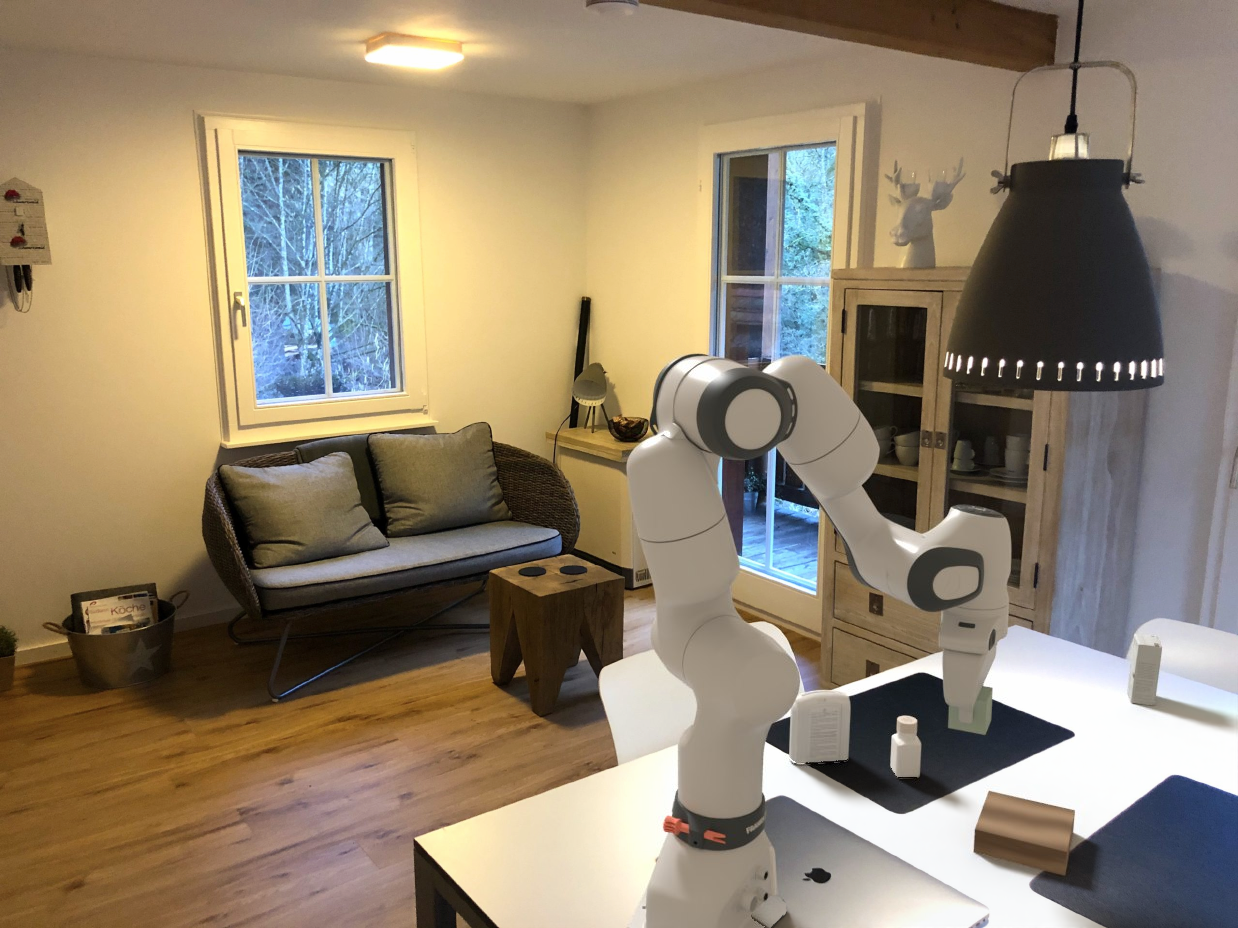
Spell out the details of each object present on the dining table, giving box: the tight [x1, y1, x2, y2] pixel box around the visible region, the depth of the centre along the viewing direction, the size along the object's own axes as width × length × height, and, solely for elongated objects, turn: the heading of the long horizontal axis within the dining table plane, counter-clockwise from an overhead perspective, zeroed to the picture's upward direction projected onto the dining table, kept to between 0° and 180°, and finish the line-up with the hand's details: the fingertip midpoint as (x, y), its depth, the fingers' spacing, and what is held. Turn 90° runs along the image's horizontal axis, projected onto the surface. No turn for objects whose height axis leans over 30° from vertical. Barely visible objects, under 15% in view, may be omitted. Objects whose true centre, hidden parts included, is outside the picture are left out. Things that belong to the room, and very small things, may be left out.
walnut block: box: [973, 790, 1076, 876], centre depth 143 cm, size 12×12×4 cm
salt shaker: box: [889, 715, 922, 778], centre depth 162 cm, size 4×4×10 cm
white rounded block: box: [788, 689, 851, 763], centre depth 167 cm, size 10×4×12 cm, turn 98°
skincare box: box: [1126, 633, 1163, 706], centre depth 188 cm, size 6×4×12 cm
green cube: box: [947, 685, 994, 736], centre depth 140 cm, size 5×5×5 cm
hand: (970, 711), depth 140 cm, fingers closed on green cube, 5 cm apart
